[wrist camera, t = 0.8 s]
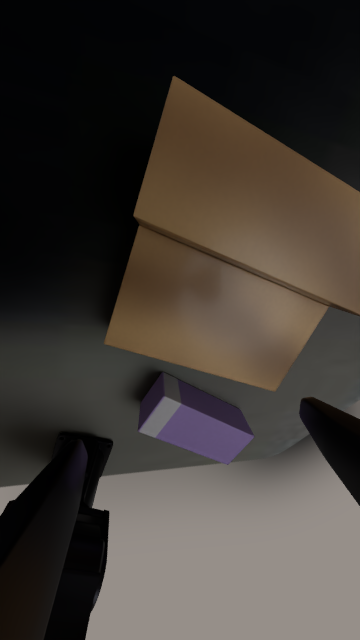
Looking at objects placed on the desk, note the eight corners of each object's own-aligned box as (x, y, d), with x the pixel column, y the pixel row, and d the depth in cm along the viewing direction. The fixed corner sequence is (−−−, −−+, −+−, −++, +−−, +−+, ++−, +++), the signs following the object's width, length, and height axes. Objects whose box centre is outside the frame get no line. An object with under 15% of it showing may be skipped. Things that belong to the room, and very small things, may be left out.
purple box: (217, 435, 27) (227, 465, 23) (140, 402, 24) (137, 431, 20) (240, 409, 26) (255, 436, 22) (162, 371, 23) (163, 395, 19)
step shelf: (259, 372, 24) (301, 423, 17) (111, 328, 20) (88, 371, 13) (335, 242, 20) (434, 238, 13) (165, 152, 16) (173, 74, 9)
